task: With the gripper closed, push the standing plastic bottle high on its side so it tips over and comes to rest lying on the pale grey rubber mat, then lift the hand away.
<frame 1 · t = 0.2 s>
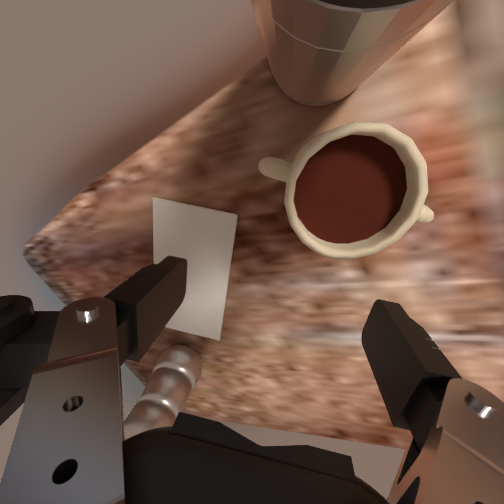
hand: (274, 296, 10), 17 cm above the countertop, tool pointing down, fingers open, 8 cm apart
character mug: (323, 172, 24), on the countertop
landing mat: (191, 276, 32), on the countertop
plastic bottle: (186, 353, 38), on the countertop
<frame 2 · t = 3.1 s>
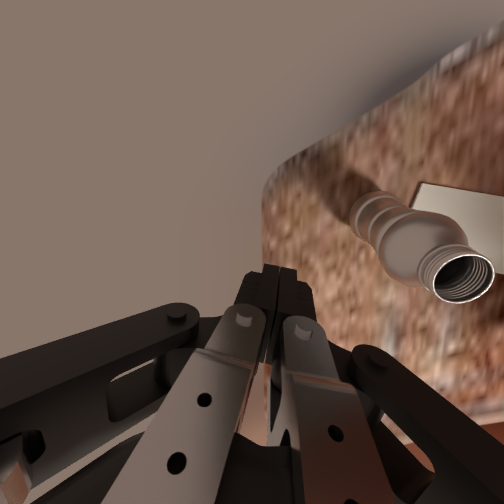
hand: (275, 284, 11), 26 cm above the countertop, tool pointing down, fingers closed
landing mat: (477, 232, 33), on the countertop
plastic bottle: (369, 212, 34), on the countertop
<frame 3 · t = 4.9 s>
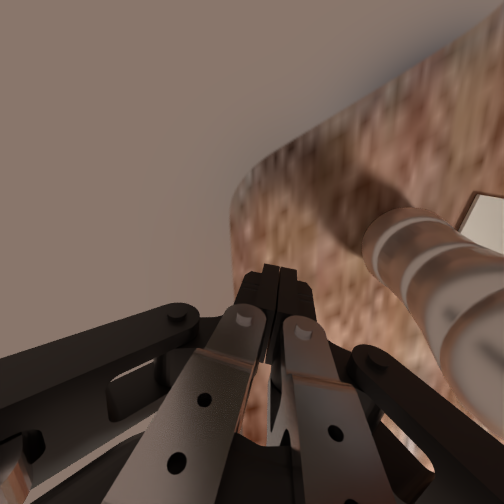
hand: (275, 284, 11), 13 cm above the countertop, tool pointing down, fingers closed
plastic bottle: (391, 238, 22), on the countertop
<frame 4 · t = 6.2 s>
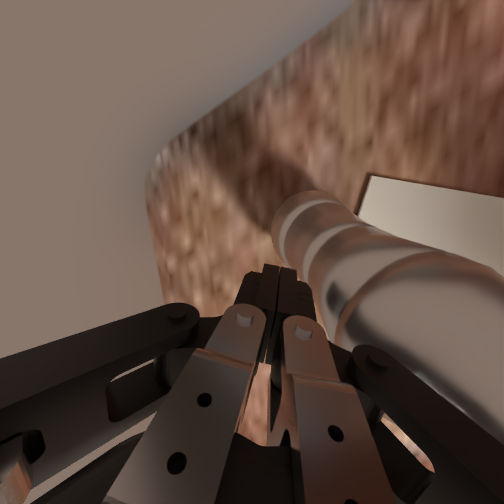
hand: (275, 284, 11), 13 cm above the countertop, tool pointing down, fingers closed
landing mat: (458, 250, 22), on the countertop
plastic bottle: (299, 222, 22), point 1 cm above the countertop
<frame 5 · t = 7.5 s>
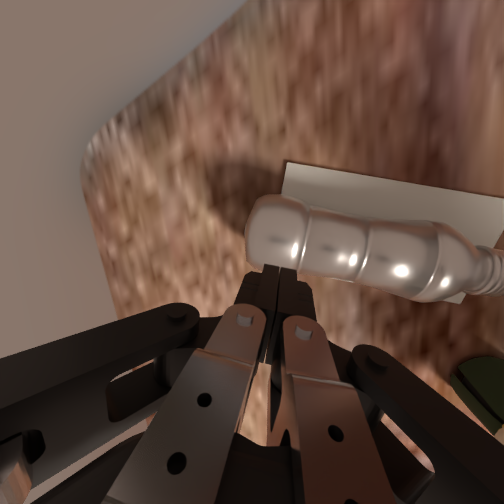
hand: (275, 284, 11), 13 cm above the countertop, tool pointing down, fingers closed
character mug: (478, 372, 26), on the countertop
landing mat: (377, 235, 22), on the countertop
plastic bottle: (243, 229, 20), point 3 cm above the countertop, touching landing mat
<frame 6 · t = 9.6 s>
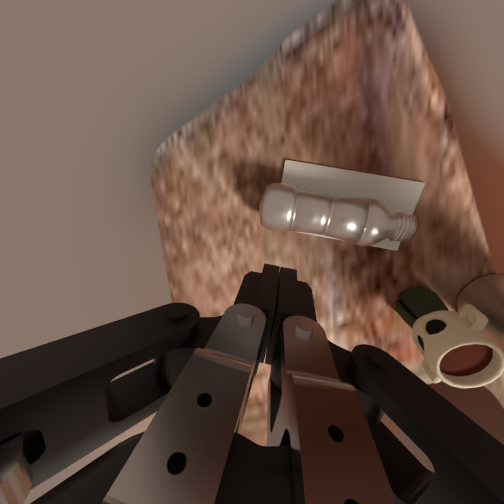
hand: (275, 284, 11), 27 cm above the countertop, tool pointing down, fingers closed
character mug: (414, 301, 39), on the countertop
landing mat: (342, 206, 35), on the countertop
plastic bottle: (258, 204, 33), point 4 cm above the countertop, touching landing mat
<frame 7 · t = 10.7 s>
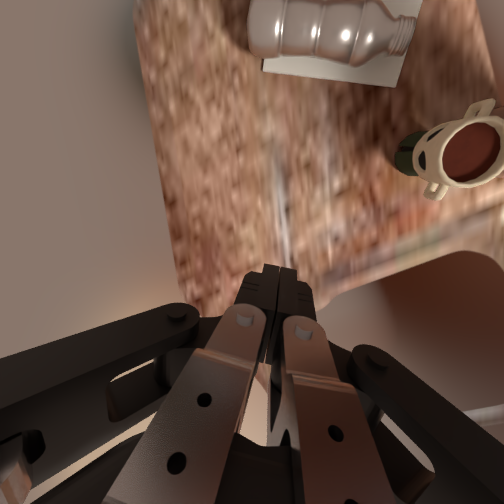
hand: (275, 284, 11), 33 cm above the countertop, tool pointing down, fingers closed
character mug: (415, 154, 37), on the countertop
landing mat: (336, 36, 33), on the countertop
plastic bottle: (246, 24, 31), point 3 cm above the countertop, touching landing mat
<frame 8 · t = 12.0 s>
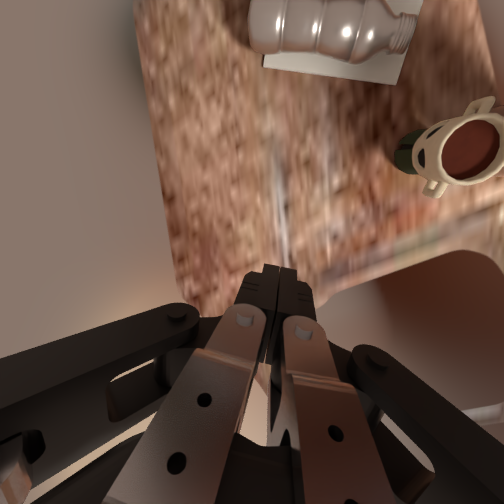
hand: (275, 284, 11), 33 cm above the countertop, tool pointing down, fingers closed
character mug: (414, 152, 37), on the countertop
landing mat: (337, 32, 33), on the countertop
plastic bottle: (247, 19, 31), point 4 cm above the countertop, touching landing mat
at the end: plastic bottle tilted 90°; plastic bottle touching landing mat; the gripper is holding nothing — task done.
